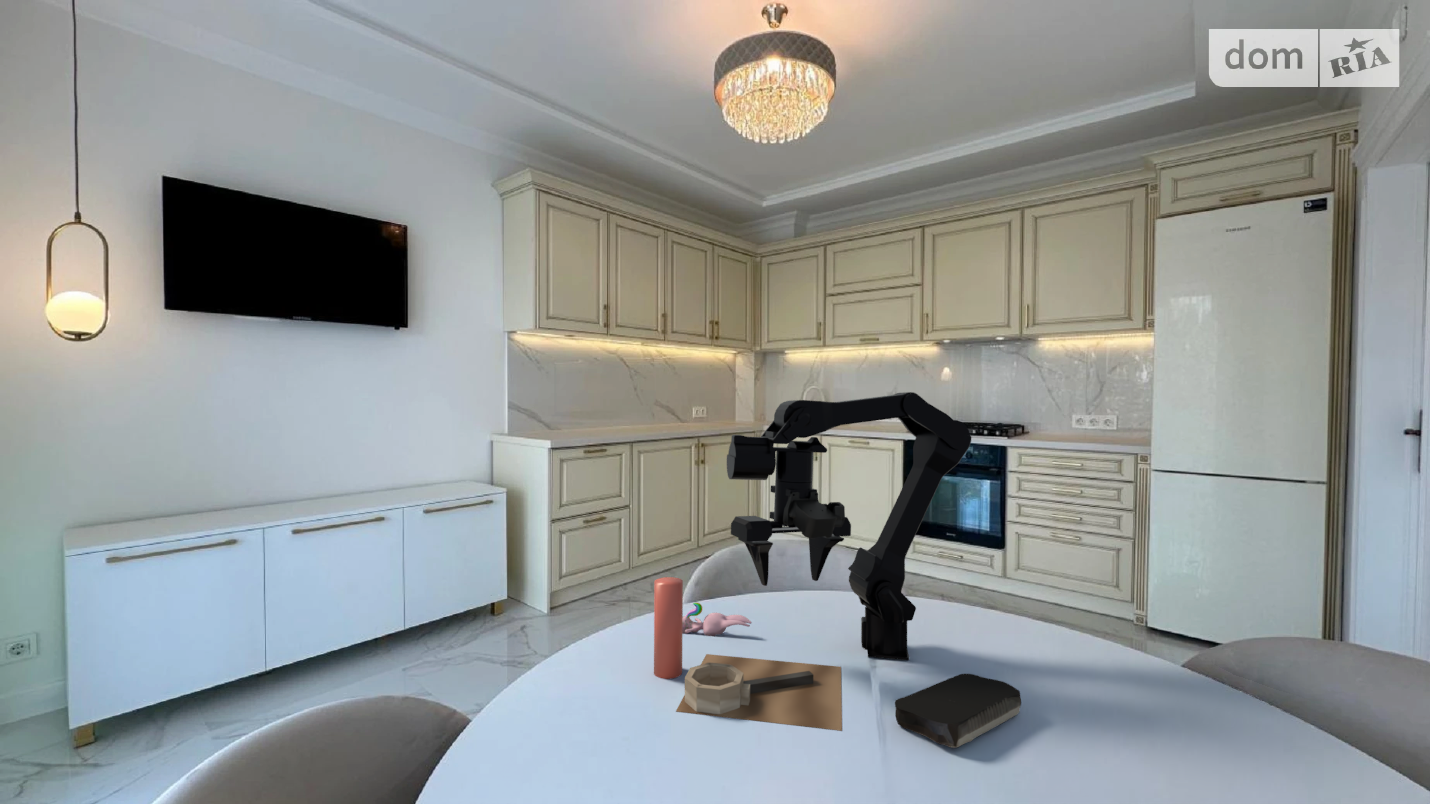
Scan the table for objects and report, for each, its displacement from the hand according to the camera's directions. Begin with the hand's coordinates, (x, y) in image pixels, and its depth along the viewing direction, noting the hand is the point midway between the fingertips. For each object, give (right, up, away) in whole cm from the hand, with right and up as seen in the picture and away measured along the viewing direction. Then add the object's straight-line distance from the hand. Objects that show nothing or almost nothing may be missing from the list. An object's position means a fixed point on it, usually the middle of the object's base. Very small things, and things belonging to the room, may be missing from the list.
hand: (790, 582), depth 89 cm
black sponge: (+19, -12, -17) cm, 28 cm away
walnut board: (-5, -12, -12) cm, 17 cm away
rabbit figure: (-13, -12, +9) cm, 20 cm away
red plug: (-18, -12, -7) cm, 23 cm away
